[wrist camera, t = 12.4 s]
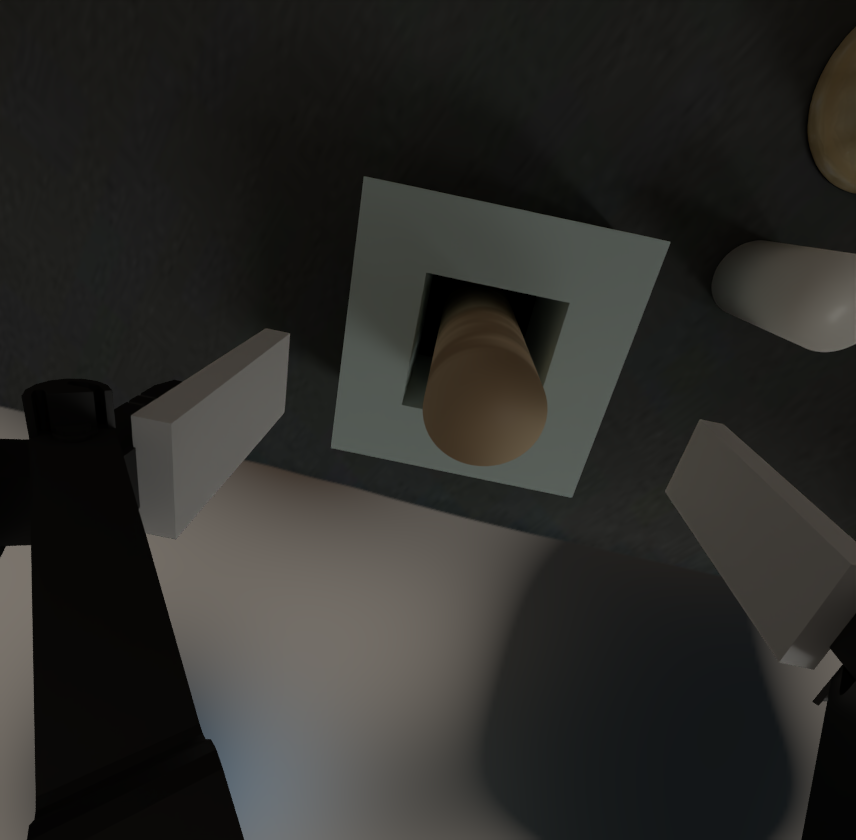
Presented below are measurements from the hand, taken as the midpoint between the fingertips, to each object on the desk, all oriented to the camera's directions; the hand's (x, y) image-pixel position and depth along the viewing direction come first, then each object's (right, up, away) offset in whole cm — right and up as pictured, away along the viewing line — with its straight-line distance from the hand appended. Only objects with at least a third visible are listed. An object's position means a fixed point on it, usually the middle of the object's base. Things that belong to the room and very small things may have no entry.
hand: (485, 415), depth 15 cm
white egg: (+16, +8, +11) cm, 21 cm away
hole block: (+1, +6, +13) cm, 14 cm away
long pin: (+1, +6, +13) cm, 14 cm away
